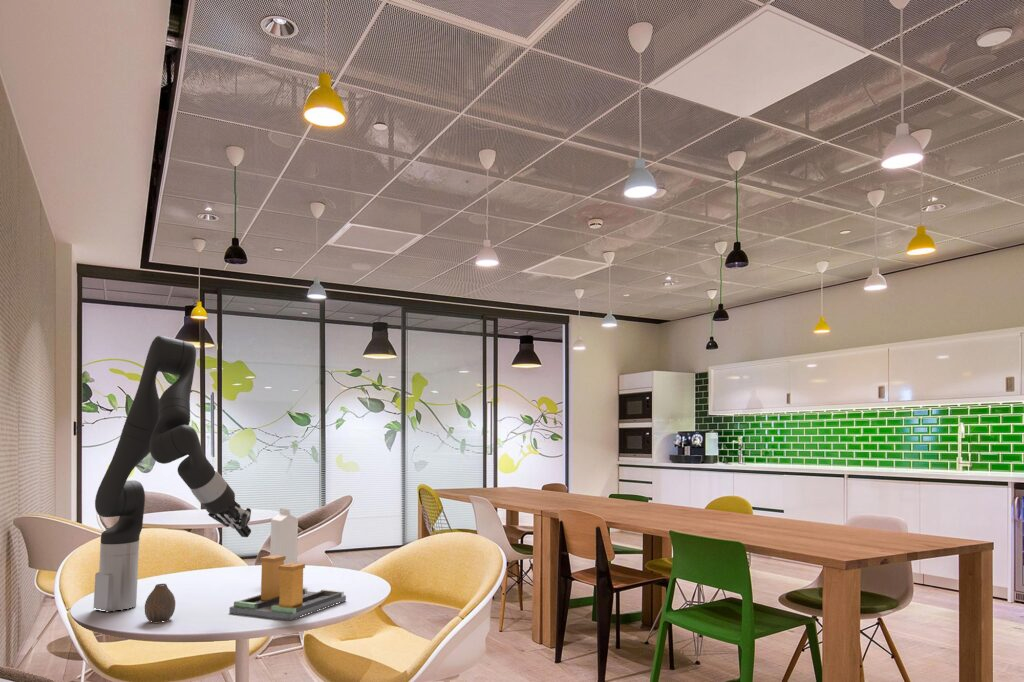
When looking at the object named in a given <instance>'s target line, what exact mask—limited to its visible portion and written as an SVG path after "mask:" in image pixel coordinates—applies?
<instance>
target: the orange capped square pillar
mask: <svg viewBox="0 0 1024 682" xmlns="http://www.w3.org/2000/svg"><path fill="white" fill-rule="evenodd" d="M285 559H286V556H281V555H270V554H269V555H266V556H261V557H260V558H259V561H260V562H261V583H260V595H261V600H268V599H271V598H275V597H278V596H279V595H280V570H278V566H280V565H284V560H285Z"/></svg>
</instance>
